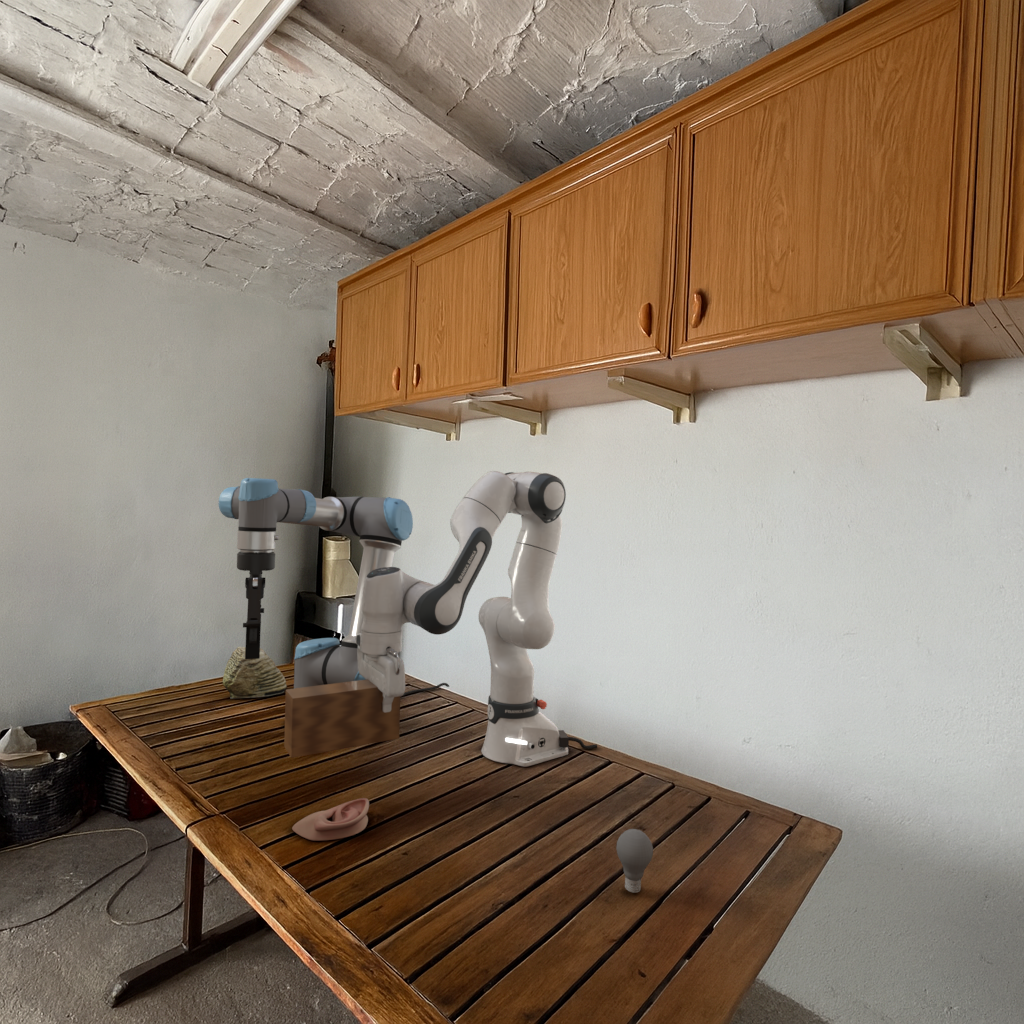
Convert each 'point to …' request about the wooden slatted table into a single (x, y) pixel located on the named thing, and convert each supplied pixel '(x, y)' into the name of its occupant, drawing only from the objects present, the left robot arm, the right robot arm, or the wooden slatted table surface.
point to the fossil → (252, 676)
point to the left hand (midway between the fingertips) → (252, 650)
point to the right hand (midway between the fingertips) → (379, 705)
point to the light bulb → (634, 857)
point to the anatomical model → (335, 821)
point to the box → (337, 717)
